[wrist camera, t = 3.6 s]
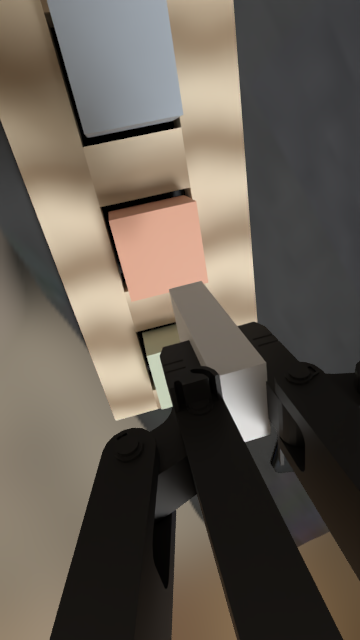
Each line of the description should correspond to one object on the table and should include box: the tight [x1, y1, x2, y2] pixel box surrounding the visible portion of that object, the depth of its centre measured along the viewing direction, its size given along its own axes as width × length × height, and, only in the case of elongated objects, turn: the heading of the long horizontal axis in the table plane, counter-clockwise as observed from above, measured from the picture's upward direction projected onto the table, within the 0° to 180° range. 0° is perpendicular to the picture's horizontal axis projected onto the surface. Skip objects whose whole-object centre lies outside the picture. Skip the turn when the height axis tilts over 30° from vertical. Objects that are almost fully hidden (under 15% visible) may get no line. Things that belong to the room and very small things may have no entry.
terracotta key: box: [108, 195, 208, 302], centre depth 25 cm, size 6×6×4 cm
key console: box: [0, 0, 257, 420], centre depth 27 cm, size 34×16×2 cm, turn 10°
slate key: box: [47, 0, 183, 138], centre depth 19 cm, size 6×6×4 cm
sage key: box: [142, 324, 180, 409], centre depth 30 cm, size 6×6×4 cm
